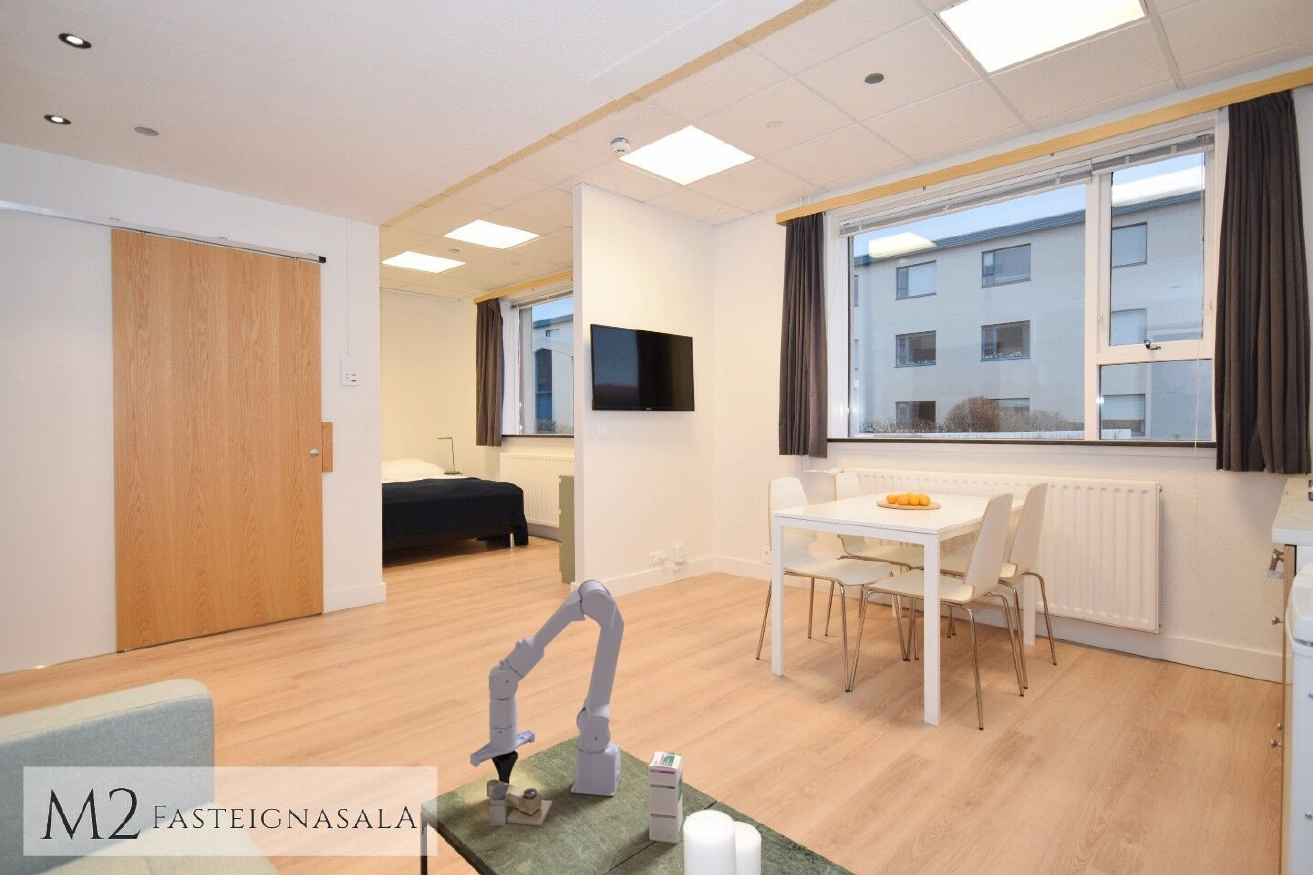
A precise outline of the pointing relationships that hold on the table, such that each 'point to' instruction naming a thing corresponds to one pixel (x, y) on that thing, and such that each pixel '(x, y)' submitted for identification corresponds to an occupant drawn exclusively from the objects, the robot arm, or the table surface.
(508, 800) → the link
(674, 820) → the syrup box
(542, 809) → the pintle base
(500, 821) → the block
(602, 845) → the table surface
